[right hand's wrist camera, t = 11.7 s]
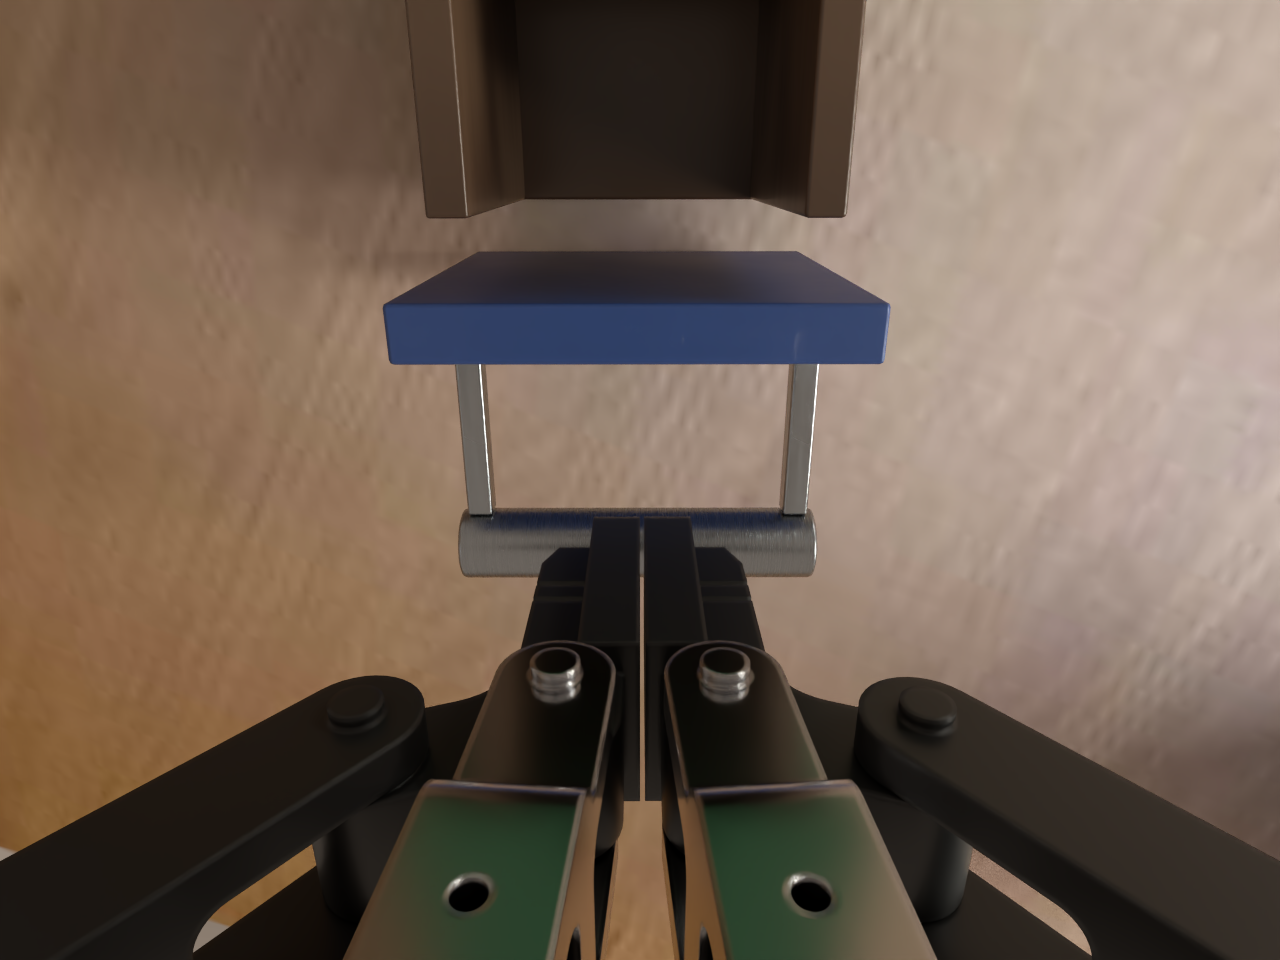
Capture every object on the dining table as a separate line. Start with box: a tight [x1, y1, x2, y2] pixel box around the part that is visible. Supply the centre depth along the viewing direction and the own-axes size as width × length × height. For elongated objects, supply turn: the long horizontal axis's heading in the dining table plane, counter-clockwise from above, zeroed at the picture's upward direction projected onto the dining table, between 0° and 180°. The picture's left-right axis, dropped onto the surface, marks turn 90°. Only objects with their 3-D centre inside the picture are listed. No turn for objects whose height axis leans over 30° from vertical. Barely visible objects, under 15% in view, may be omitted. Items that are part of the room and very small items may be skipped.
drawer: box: [383, 0, 890, 577], centre depth 18 cm, size 25×10×10 cm, turn 0°
